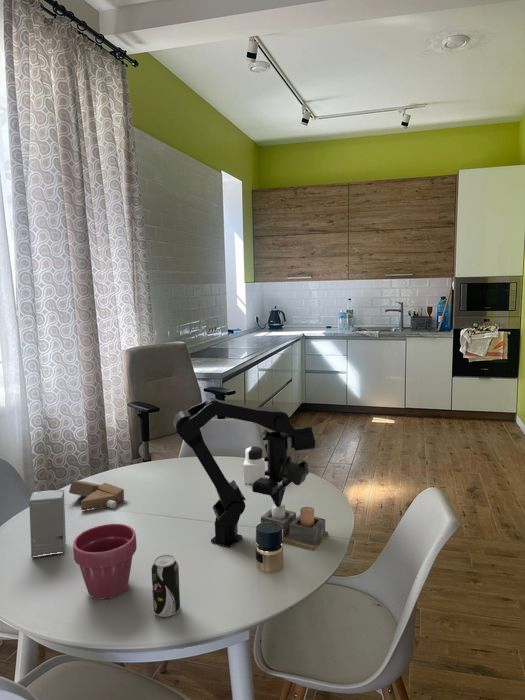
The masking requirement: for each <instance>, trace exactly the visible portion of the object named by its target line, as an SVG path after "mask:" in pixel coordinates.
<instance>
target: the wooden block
mask: <svg viewBox="0 0 525 700" xmlns="http://www.w3.org/2000/svg"><path fill="white" fill-rule="evenodd" d="M124 491H125V489H124V488H121V487H118V486H116V485H113V484H110V483H108V482H103V483H102V484H99V483H94V482H90V481H89V482H88V481H85V480H72V481H71V484H70V487H69V490H68V493H69V494H72V495H77V496H81V497H85V498H84V499H83V500H81V502H80V510H87V509H92V508H99V509H101V508H100V507H104V508H111V509H115V508H116V506H117V505H118V504H120V503H121V502H123V501H124V500H125V492H124Z"/></svg>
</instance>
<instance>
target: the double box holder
mask: <svg viewBox="0 0 525 700" xmlns="http://www.w3.org/2000/svg"><path fill="white" fill-rule="evenodd" d="M265 522H271V523H277V524H279V525H281V526H282V529H283V544H286V545H290V546H294V547H298V548H302V549H306V550H309V551H313V552H314V551H315V549H316V548H317V547H318V546H319V545H320V544H321V543H322V542H323V540H324V539H326V537H328V535H329V531H326V518H321V517H318V516H314V526H313V527H312V528H311V527H307V526H303V525H301V524H300V514H298V515H297V512H295V511H291V510H286V509H285V518H284V519H283V520H278V519H274V518H272V508H271V509H269V510H268V511H267V512H265V513H264V514H263V515H262V516H260V524H261V523H265Z"/></svg>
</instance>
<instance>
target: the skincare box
mask: <svg viewBox="0 0 525 700" xmlns="http://www.w3.org/2000/svg"><path fill="white" fill-rule="evenodd" d="M28 502H29V528H30V553H31V554H30V556H31V557H32V556H38V555H43V554H50V553H57V552H63V551H64V552H65V550H64V549H65V548H66V545H65V543H67V536H66V534H67V533H66V511H65V510H66V508H65V489H59V490H58V489H56V490H52V489H51V490H49V489H48V490H45V491H34V492H32V493H31V495H30V499H29V501H28Z"/></svg>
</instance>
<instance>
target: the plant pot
mask: <svg viewBox="0 0 525 700" xmlns="http://www.w3.org/2000/svg"><path fill="white" fill-rule="evenodd" d="M72 543H73V544H72V550H73V551H72V553H73V554H72V555H73V560H74V561H75V563H76V564H77V565H78V566H79V569H80V572H81V574H82V578H83V582H84V583H85V587H86V590H87V592H88V595H89V594H90V595H91V596H93V597H95V598H94V599H96V598H101V599H100V600H105V599H104V598H109V599H112V598H111V597H113V598H116V597H118V596H119V594H120V595H122V594H123V593H124V592H126V590H127V589H128V587H129V582H130V576H131V570H132V563H133V561H132V560H133V556H134V555H135V553H136V552H137V535H136V531H135V529H134V528H133V527H132V526H130V525H127V524H122V523H108V524H107V523H106V524H101V525H97V526H94V527H91V528H88V529H85V530H84V531H82V532H81V533H79V534H78V535H77V536H76V537H75V538H74V540H73V542H72ZM90 595H89V596H90ZM117 595H118V596H117ZM91 596H90V597H91ZM93 597H92V598H93ZM102 598H103V599H102Z"/></svg>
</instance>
